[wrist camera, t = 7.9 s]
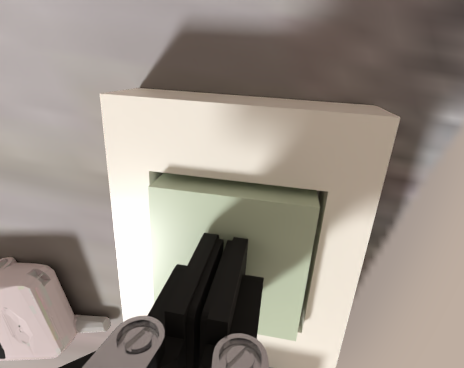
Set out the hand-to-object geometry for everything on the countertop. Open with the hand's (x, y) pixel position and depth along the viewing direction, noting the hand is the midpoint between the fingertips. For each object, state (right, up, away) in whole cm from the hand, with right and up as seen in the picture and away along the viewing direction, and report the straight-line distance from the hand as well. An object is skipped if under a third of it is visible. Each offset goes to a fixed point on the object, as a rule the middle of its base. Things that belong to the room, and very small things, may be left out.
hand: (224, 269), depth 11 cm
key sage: (+1, +1, +2) cm, 3 cm away
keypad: (0, -7, +7) cm, 10 cm away
